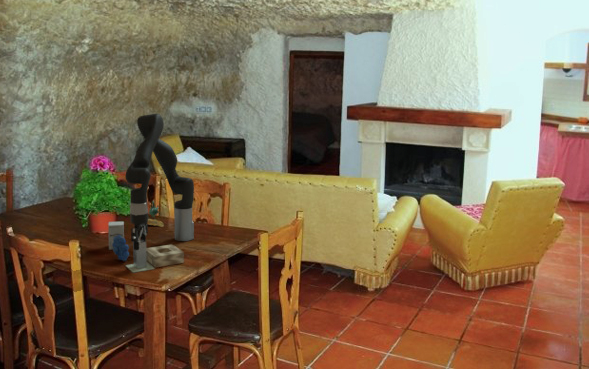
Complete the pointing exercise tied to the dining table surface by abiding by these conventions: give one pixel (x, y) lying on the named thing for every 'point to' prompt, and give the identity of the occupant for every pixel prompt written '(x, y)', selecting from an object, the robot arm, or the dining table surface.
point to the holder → (164, 255)
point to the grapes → (120, 247)
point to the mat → (133, 269)
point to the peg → (140, 255)
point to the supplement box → (115, 231)
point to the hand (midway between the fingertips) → (140, 246)
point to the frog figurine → (153, 212)
